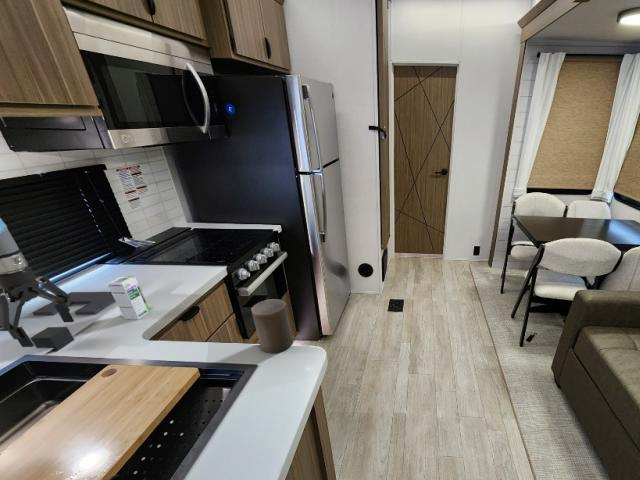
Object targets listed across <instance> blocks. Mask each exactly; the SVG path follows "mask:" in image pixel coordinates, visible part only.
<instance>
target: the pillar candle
mask: <svg viewBox="0 0 640 480" xmlns="http://www.w3.org/2000/svg"><path fill="white" fill-rule="evenodd" d="M250 310H251V314H252V319H253V323H254V326H255V330H256V332H257V338H258V341H259V346H260V348H261V350H262V352H264V351H265V352H264V353H267V354H279V353H281V352H285V351H287V350H288V349H290V348H291V347H292V345H293V343H294V338H293V333H292V330H291V328H292V327H291V323H290V320H289V315H288V310H287V305H286V302H285V301H284V300H282V299H278V298H271V299H270V298H269V299H265V300H262V301H259V302H257V303H255V304H254V305H253V306H252V307H251V308H250ZM290 346H291V347H290ZM278 352H279V353H278Z"/></svg>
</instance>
